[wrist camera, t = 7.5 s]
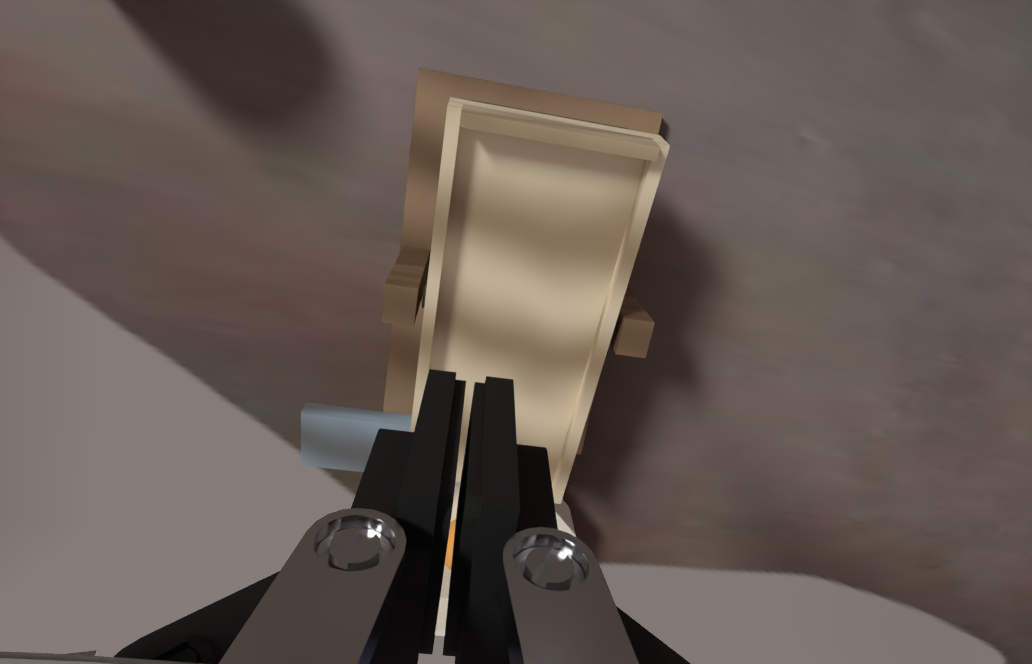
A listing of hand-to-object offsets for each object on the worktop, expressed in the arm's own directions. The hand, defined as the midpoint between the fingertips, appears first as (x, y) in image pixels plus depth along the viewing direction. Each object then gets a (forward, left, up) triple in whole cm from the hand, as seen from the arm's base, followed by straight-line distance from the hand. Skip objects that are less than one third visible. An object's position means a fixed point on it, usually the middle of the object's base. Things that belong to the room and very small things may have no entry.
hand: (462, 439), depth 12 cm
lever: (+2, +4, -23) cm, 23 cm away
